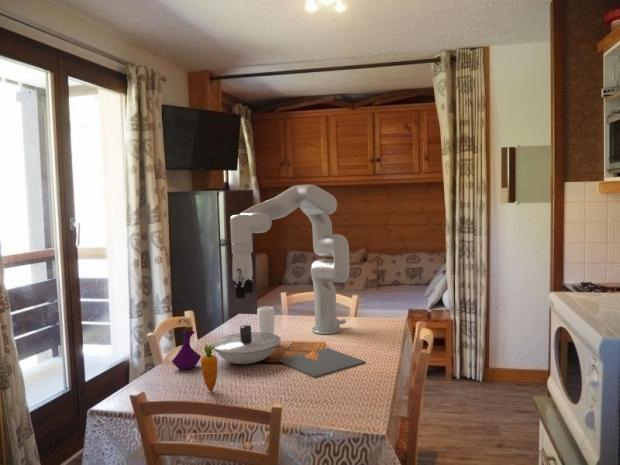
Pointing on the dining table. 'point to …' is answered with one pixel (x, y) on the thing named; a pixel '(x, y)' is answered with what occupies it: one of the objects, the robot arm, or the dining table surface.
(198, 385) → the dining table surface
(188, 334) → the perfume bottle
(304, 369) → the mat
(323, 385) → the dining table surface
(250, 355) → the soup bowl
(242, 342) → the lid
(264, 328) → the drinking glass
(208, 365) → the carrot
